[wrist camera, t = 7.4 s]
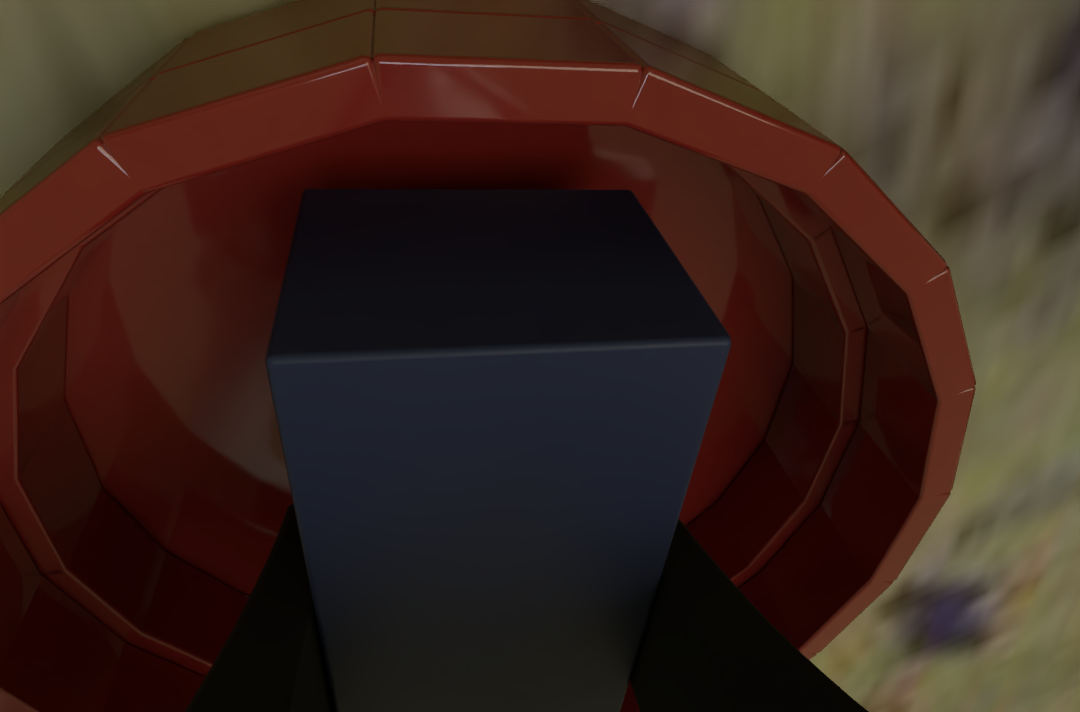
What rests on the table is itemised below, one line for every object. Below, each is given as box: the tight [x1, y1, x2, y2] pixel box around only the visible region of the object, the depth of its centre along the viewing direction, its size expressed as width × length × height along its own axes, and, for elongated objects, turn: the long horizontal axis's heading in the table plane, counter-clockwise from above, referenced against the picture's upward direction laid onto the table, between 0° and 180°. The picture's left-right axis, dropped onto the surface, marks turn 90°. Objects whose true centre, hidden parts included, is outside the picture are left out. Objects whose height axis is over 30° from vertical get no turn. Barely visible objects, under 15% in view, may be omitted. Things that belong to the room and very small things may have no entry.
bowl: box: [0, 0, 976, 712], centre depth 13 cm, size 16×16×4 cm
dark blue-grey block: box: [265, 189, 731, 712], centre depth 11 cm, size 11×5×4 cm, turn 175°
